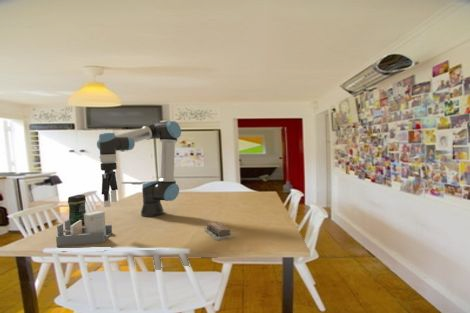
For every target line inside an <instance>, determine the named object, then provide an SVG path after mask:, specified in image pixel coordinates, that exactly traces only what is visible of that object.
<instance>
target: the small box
mask: <svg viewBox="0 0 470 313" xmlns="http://www.w3.org/2000/svg"><path fill="white" fill-rule="evenodd" d="M105 213H106V212H105V211H102V210H96V211H91V212H86V213H85V214H84V223H85V224H84V227H85V234H87V233H100V232H104V236H106V228H105V225H106V214H105Z"/></svg>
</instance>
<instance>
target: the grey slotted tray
mask: <svg viewBox="0 0 470 313" xmlns="http://www.w3.org/2000/svg"><path fill="white" fill-rule="evenodd" d="M56 226H57V227H56V228H57V236H55V241H56V247H63V246H64V247H66V246H77V245H78V246H79V245H90V244H100V243H102V244H103V243H105V242H106V240H107V239H109V238H110V236H111V235H112V234H113V225H112V224H105V228H106V236H104V232H100V233H87V234H85V226H82V234H74V235H71V232H66V233H65V234H64V232H63V230H71V229H70V219H69V218H68V219H66V220H65V221H64V223H60V224H58V225H56Z"/></svg>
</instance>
